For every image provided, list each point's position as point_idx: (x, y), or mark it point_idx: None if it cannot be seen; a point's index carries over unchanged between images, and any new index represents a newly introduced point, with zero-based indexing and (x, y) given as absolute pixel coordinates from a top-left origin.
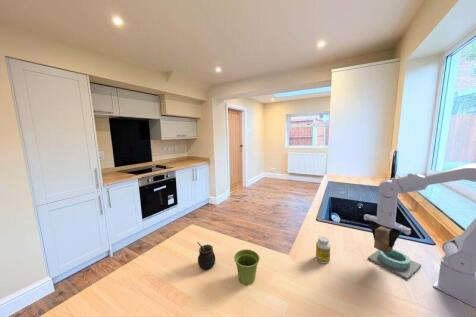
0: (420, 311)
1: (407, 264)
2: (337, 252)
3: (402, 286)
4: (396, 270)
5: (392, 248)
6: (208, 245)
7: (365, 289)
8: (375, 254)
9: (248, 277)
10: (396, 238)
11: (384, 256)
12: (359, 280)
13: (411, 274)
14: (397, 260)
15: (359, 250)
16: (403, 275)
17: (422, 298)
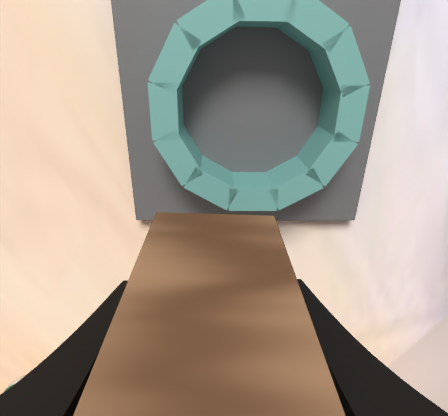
0: (406, 347)
1: (352, 144)
2: (17, 300)
3: (339, 279)
4: (296, 205)
5: (276, 227)
6: None
7: None
8: (142, 141)
9: None
10: (363, 363)
11: (219, 202)
12: None
13: (365, 167)
14: (268, 73)
15: (49, 165)
16: (333, 217)
17: (411, 282)
